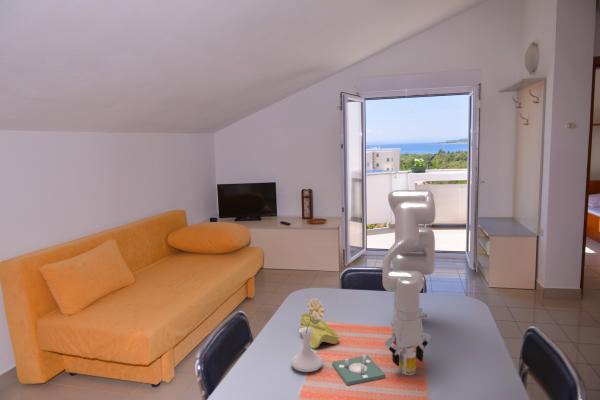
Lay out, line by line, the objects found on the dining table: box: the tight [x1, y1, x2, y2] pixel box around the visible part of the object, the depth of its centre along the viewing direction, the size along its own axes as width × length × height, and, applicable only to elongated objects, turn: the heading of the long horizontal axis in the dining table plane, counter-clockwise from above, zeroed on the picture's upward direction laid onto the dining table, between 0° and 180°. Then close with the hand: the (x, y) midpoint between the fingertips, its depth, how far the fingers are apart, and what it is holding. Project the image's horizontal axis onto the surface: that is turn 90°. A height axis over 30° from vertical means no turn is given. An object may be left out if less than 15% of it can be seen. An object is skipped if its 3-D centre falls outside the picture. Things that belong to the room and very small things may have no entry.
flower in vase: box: [290, 297, 326, 373], centre depth 155 cm, size 13×11×25 cm
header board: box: [331, 354, 387, 386], centre depth 152 cm, size 14×14×4 cm
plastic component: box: [299, 312, 340, 350], centre depth 179 cm, size 20×7×10 cm
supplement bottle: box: [399, 346, 417, 376], centre depth 150 cm, size 5×5×10 cm
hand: (407, 361), depth 150 cm, fingers open, 8 cm apart
